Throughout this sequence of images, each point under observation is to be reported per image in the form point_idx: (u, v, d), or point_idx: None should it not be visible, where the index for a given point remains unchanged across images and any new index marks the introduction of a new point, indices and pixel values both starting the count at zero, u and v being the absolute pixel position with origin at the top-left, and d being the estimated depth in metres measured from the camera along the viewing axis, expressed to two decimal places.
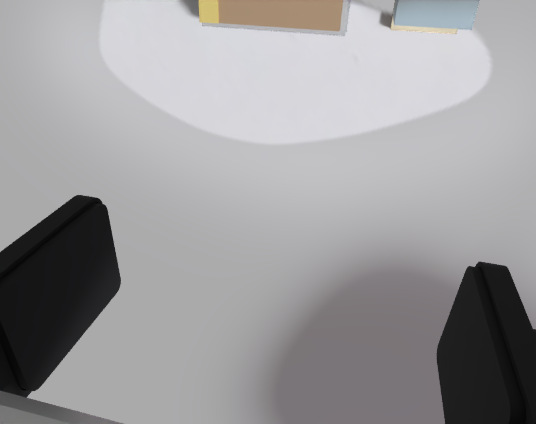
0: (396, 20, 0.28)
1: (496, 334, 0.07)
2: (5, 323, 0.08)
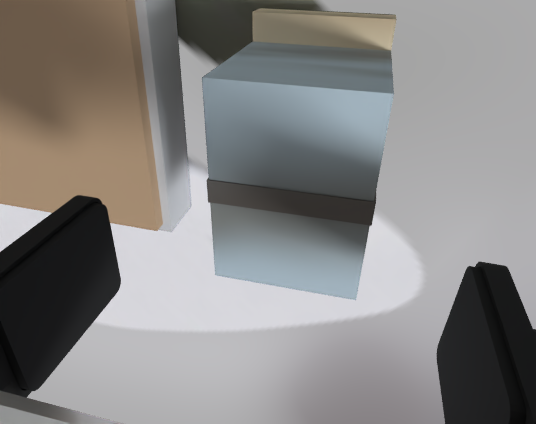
0: (217, 269, 0.15)
1: (496, 334, 0.07)
2: (5, 323, 0.08)
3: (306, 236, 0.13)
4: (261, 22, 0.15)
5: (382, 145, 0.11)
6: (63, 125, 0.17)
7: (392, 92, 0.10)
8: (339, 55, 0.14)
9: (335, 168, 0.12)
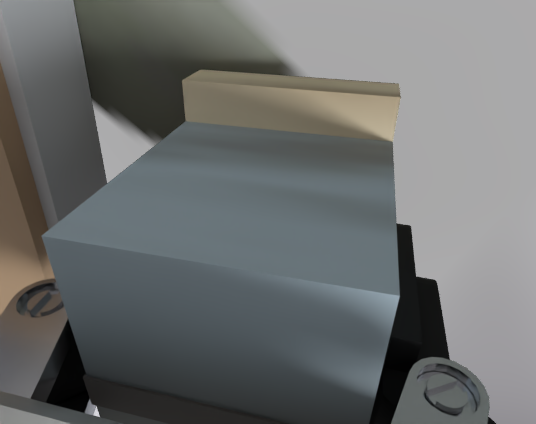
0: None
1: None
2: None
3: None
4: (196, 95, 0.10)
5: (378, 370, 0.06)
6: None
7: (397, 289, 0.05)
8: (310, 156, 0.09)
9: (292, 389, 0.06)
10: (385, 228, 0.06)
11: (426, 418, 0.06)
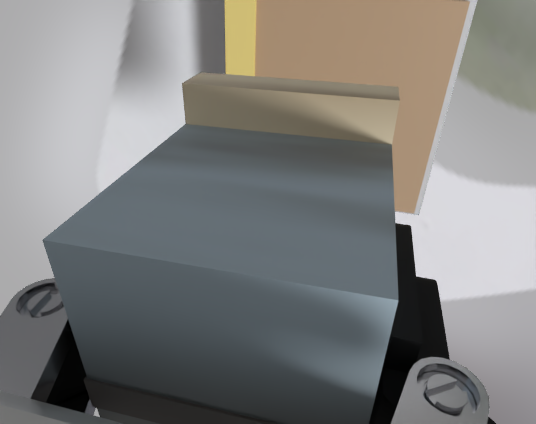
0: None
1: None
2: None
3: None
4: (196, 98, 0.10)
5: (377, 373, 0.06)
6: None
7: (395, 294, 0.05)
8: (310, 159, 0.09)
9: (292, 392, 0.06)
10: (384, 232, 0.06)
11: (426, 418, 0.06)
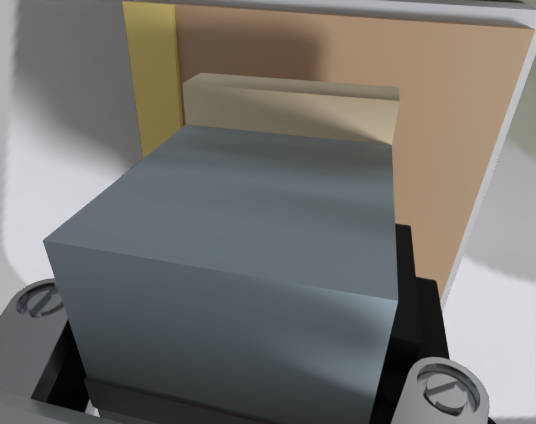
0: None
1: None
2: None
3: None
4: (196, 98, 0.10)
5: (377, 374, 0.06)
6: None
7: (395, 294, 0.05)
8: (310, 159, 0.09)
9: (292, 392, 0.06)
10: (384, 232, 0.06)
11: (426, 418, 0.06)
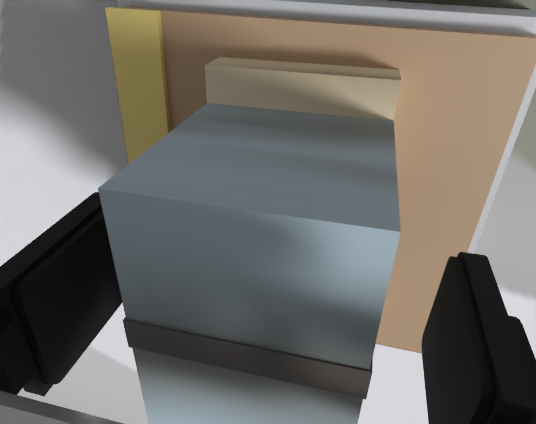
0: (152, 422, 0.11)
1: (472, 319, 0.08)
2: (31, 317, 0.08)
3: (270, 400, 0.09)
4: (217, 79, 0.11)
5: (382, 301, 0.07)
6: None
7: (398, 227, 0.06)
8: (321, 131, 0.10)
9: (308, 323, 0.07)
10: (388, 185, 0.07)
11: None
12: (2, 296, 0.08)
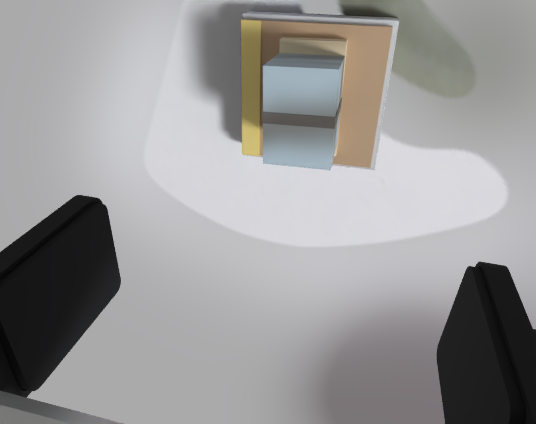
0: (264, 159, 0.31)
1: (496, 334, 0.07)
2: (5, 323, 0.08)
3: (306, 137, 0.29)
4: (283, 43, 0.31)
5: (336, 91, 0.27)
6: None
7: (338, 69, 0.26)
8: (320, 58, 0.30)
9: (317, 102, 0.28)
10: (338, 65, 0.28)
11: None
12: None
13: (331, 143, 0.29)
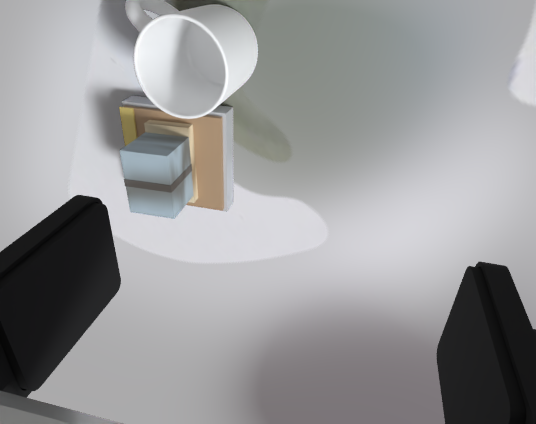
0: (130, 209, 0.44)
1: (496, 334, 0.07)
2: (5, 323, 0.08)
3: (155, 197, 0.42)
4: (147, 126, 0.44)
5: (168, 169, 0.40)
6: None
7: (167, 155, 0.39)
8: (168, 139, 0.43)
9: (158, 175, 0.41)
10: (172, 150, 0.41)
11: None
12: None
13: (171, 201, 0.42)
